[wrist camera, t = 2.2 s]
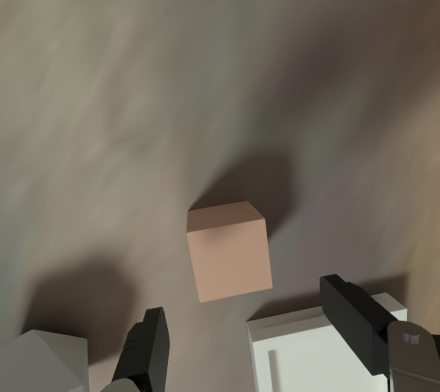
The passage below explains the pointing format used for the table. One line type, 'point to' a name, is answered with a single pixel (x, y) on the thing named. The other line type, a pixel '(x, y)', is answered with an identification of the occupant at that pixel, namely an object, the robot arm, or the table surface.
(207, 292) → the cube
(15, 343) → the die
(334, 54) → the table surface
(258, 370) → the tray
